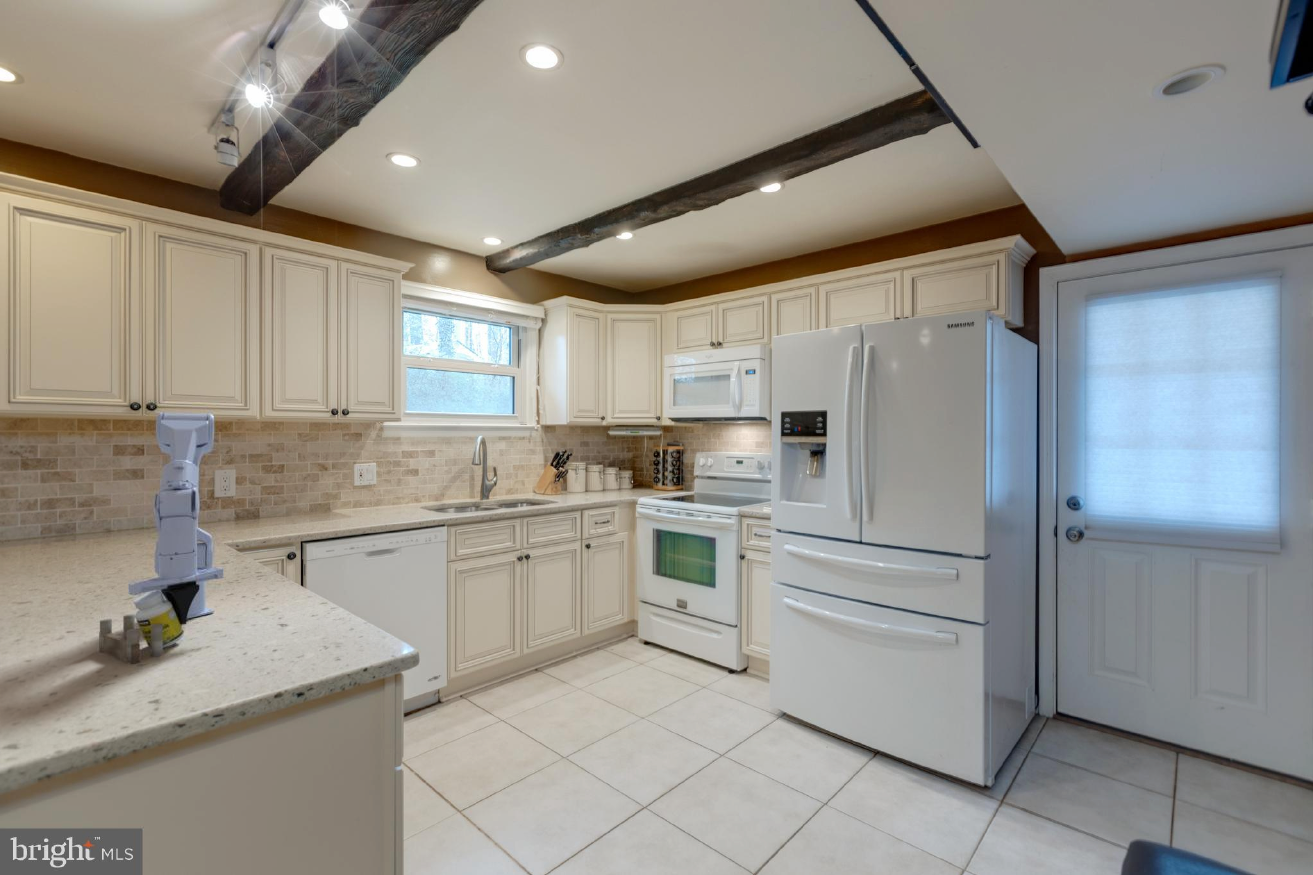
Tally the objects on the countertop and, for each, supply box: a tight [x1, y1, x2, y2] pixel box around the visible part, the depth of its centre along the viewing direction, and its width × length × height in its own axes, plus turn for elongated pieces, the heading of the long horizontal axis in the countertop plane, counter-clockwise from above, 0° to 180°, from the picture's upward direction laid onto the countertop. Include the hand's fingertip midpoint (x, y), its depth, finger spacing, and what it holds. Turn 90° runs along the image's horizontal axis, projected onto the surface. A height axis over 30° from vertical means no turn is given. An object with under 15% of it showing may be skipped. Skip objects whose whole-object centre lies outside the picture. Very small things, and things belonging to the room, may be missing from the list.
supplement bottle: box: [133, 590, 185, 650], centre depth 110 cm, size 5×5×10 cm
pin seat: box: [98, 613, 164, 665], centre depth 107 cm, size 13×5×6 cm, turn 62°
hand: (179, 624), depth 113 cm, fingers closed, pressing on supplement bottle
